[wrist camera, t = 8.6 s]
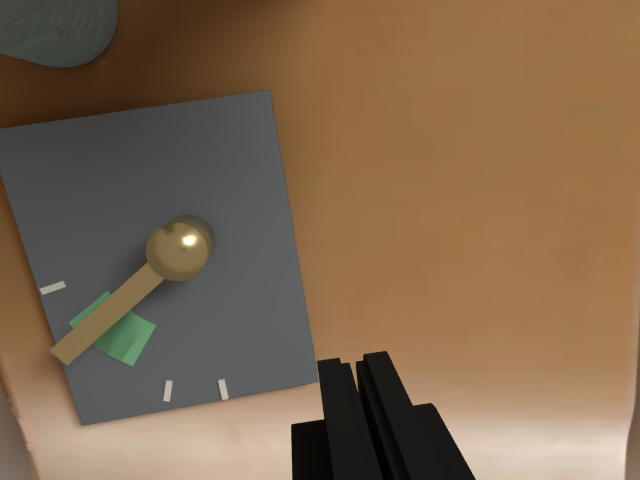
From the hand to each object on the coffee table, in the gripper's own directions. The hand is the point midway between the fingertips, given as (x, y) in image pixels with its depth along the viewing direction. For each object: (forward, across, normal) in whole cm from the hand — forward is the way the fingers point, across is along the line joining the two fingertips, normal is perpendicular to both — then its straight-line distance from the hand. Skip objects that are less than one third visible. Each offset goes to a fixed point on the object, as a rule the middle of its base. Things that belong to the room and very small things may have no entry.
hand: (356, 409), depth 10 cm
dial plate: (+24, +11, +3) cm, 27 cm away
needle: (+22, +13, +3) cm, 26 cm away
